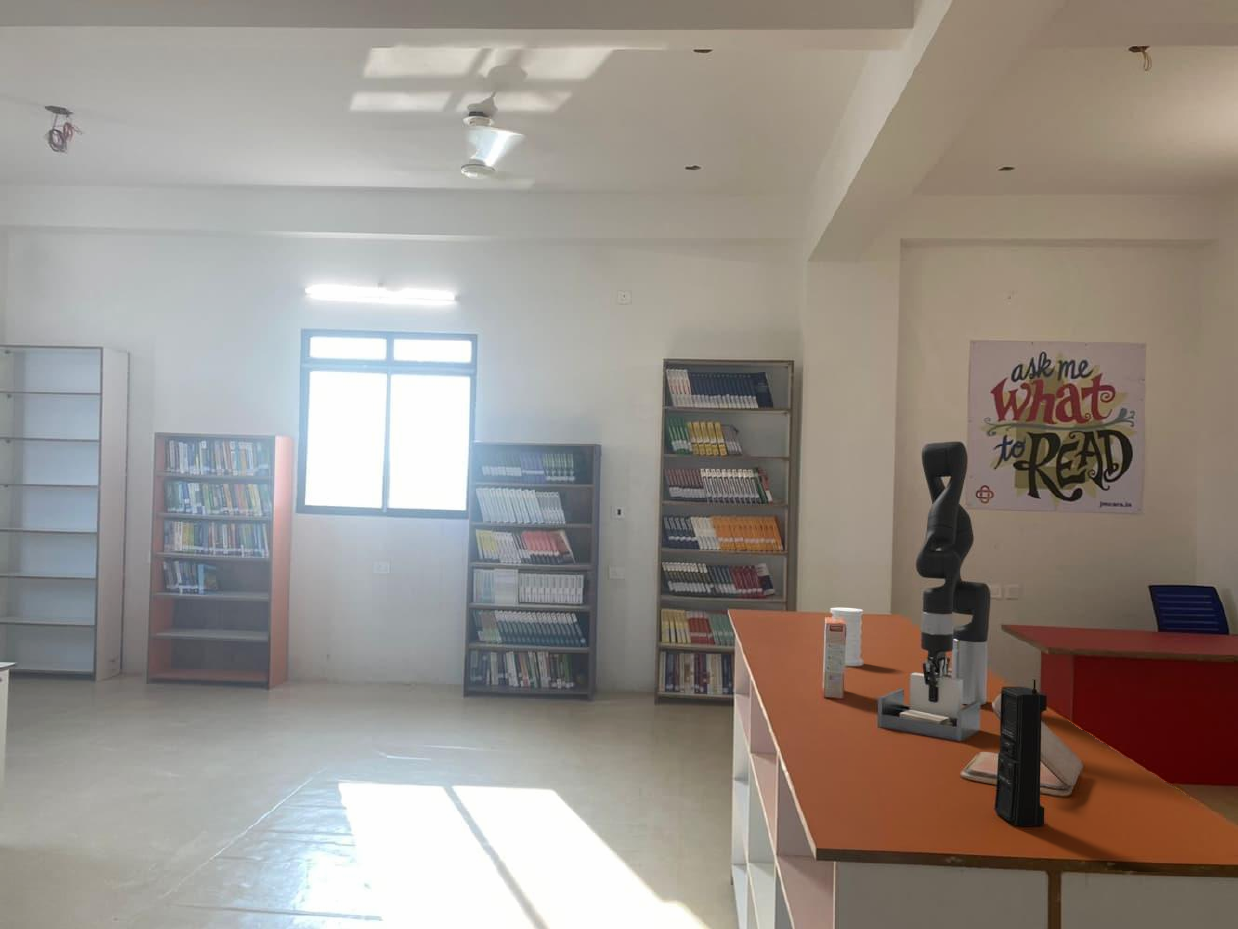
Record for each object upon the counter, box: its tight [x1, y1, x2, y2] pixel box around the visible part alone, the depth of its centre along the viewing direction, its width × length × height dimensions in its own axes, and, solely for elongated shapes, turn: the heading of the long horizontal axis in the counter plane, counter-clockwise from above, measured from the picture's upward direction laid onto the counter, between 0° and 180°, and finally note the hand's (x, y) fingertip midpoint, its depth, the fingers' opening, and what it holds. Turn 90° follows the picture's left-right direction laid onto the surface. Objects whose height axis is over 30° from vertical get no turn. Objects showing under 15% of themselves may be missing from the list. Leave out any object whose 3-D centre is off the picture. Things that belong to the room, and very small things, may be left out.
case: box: [959, 693, 1084, 798], centre depth 191 cm, size 20×21×16 cm
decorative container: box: [829, 606, 864, 667], centre depth 317 cm, size 12×12×18 cm
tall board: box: [909, 672, 963, 718], centre depth 233 cm, size 3×12×12 cm, turn 53°
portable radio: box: [993, 679, 1048, 827], centre depth 166 cm, size 8×6×25 cm
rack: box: [877, 688, 982, 742], centre depth 229 cm, size 15×20×7 cm
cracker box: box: [822, 616, 846, 700], centre depth 266 cm, size 14×6×21 cm, turn 168°
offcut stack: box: [900, 710, 952, 726], centre depth 227 cm, size 6×11×4 cm, turn 49°
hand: (935, 700), depth 233 cm, fingers closed on tall board, 3 cm apart
